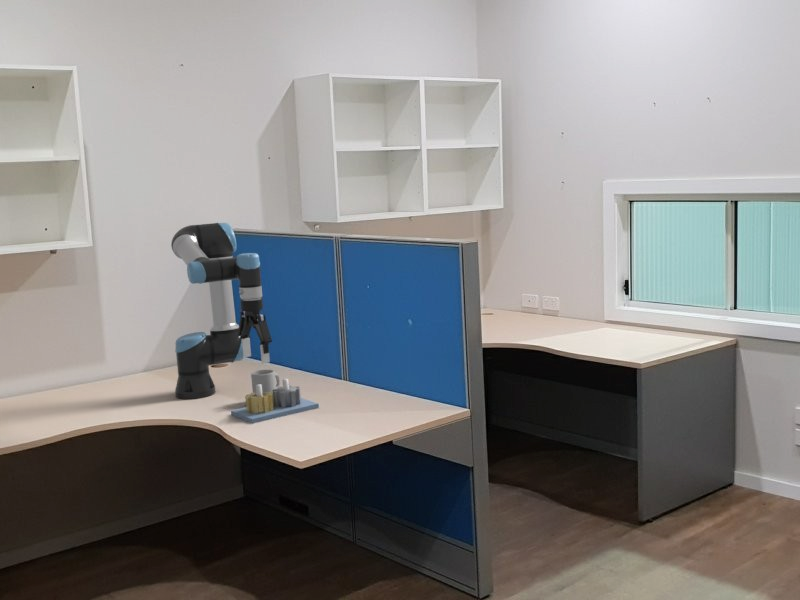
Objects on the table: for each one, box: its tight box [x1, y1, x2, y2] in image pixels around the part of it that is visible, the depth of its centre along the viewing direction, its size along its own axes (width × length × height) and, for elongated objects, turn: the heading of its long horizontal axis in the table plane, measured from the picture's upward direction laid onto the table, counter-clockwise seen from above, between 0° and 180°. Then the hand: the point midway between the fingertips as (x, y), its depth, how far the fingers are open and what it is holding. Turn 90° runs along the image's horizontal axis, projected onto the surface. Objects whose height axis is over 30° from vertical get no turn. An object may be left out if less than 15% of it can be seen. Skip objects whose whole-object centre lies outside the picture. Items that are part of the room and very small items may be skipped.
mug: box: [250, 369, 281, 393], centre depth 341 cm, size 12×8×11 cm
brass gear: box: [245, 391, 274, 414], centre depth 322 cm, size 10×10×6 cm
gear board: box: [230, 378, 320, 424], centre depth 325 cm, size 16×26×10 cm, turn 126°
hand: (256, 359), depth 320 cm, fingers open, 13 cm apart
